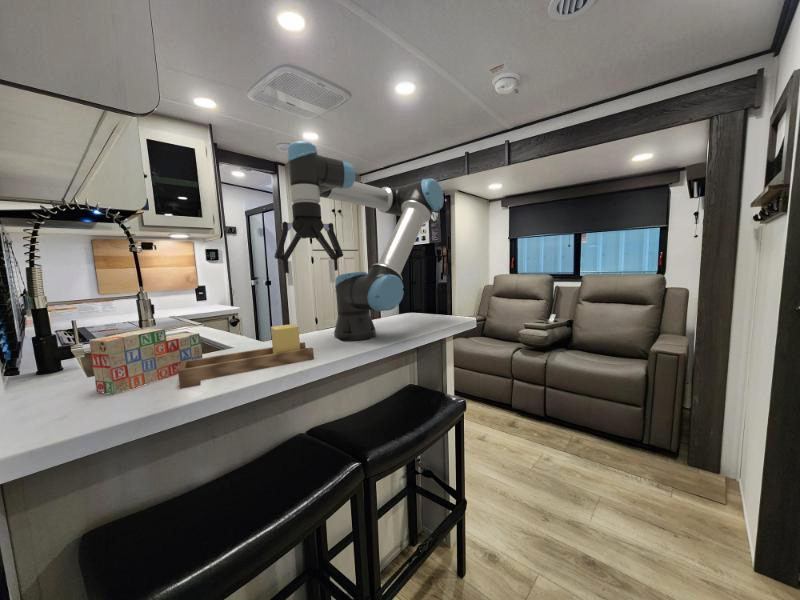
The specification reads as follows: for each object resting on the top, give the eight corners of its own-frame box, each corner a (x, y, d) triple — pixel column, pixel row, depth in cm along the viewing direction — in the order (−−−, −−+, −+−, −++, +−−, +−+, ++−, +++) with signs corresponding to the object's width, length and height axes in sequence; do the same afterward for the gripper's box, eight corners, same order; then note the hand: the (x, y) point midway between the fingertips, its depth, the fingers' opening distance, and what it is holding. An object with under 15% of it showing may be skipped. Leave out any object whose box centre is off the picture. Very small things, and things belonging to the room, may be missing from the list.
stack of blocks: (187, 364, 91) (182, 321, 90) (204, 365, 89) (199, 322, 88) (96, 393, 71) (87, 339, 70) (114, 396, 69) (106, 339, 68)
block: (295, 355, 91) (293, 323, 90) (301, 359, 86) (298, 326, 85) (273, 359, 88) (270, 326, 87) (277, 364, 83) (274, 329, 82)
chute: (305, 355, 94) (304, 342, 94) (314, 362, 86) (313, 348, 86) (182, 377, 79) (181, 361, 79) (180, 388, 71) (177, 371, 71)
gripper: (342, 208, 96) (347, 281, 99) (257, 203, 85) (265, 286, 87) (351, 203, 90) (356, 281, 92) (261, 197, 78) (269, 287, 80)
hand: (312, 283), depth 90 cm, fingers open, 11 cm apart
